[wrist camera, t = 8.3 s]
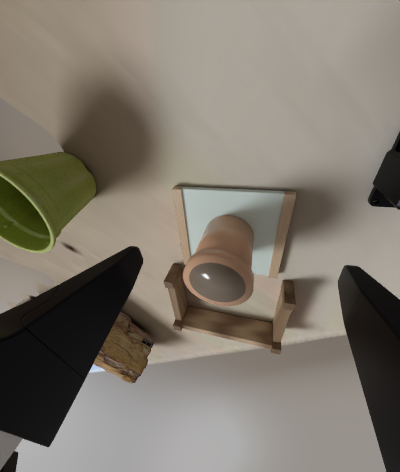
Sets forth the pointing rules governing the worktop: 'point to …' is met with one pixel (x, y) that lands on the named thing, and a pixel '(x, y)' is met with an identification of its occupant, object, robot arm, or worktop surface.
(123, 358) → the petrified wood
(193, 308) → the frame
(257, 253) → the lid pane
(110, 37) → the worktop surface
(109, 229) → the worktop surface
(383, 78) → the worktop surface
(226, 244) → the terracotta pot
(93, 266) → the robot arm
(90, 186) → the plant pot
